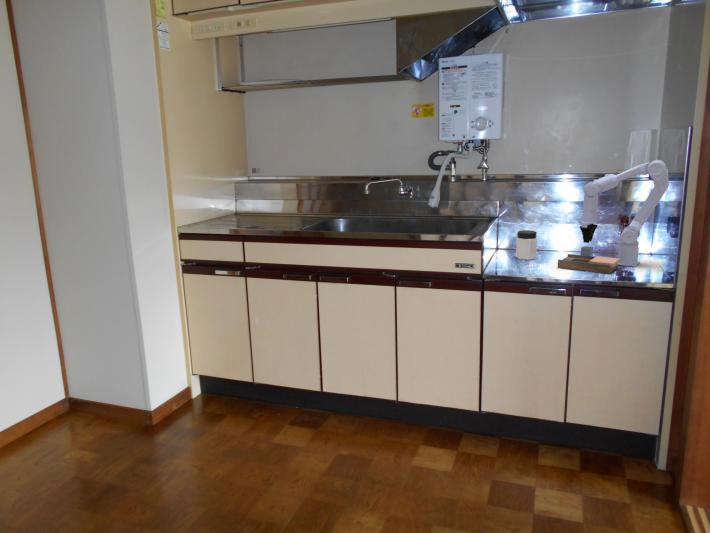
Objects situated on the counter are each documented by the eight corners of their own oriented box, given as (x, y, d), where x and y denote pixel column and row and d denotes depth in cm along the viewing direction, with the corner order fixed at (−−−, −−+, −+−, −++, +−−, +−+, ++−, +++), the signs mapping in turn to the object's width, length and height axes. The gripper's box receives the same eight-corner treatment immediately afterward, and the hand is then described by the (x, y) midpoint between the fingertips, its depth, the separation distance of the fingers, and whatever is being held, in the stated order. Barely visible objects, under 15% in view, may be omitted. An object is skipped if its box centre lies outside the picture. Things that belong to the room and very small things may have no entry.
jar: (525, 255, 255) (526, 229, 252) (539, 258, 248) (541, 231, 245) (511, 257, 250) (513, 231, 247) (526, 260, 243) (527, 234, 241)
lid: (596, 259, 231) (596, 256, 231) (619, 262, 226) (619, 258, 225) (589, 264, 222) (589, 261, 222) (613, 267, 217) (613, 263, 217)
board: (567, 261, 240) (568, 253, 239) (617, 267, 228) (618, 259, 227) (557, 268, 229) (558, 259, 228) (608, 274, 217) (609, 265, 216)
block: (582, 259, 244) (583, 246, 242) (592, 260, 241) (593, 247, 240) (580, 261, 240) (581, 247, 239) (589, 262, 238) (590, 248, 237)
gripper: (585, 208, 244) (582, 238, 247) (575, 212, 233) (573, 243, 236) (601, 209, 240) (599, 239, 243) (592, 213, 228) (590, 245, 231)
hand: (587, 241), depth 239 cm, fingers open, 3 cm apart
